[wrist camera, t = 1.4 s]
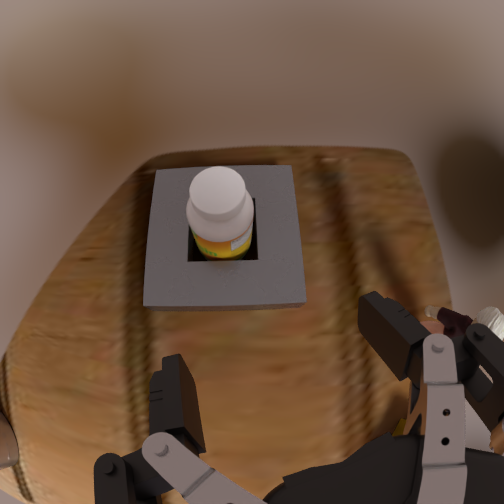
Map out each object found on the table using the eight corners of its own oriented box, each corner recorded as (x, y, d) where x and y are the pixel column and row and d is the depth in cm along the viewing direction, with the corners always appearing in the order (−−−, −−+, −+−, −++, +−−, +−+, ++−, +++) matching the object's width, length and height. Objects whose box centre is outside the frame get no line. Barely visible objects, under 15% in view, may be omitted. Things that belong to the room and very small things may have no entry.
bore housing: (153, 310, 26) (143, 305, 23) (162, 185, 30) (156, 170, 28) (299, 307, 26) (306, 302, 24) (287, 181, 31) (291, 165, 28)
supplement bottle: (186, 241, 28) (163, 190, 19) (224, 207, 30) (218, 147, 21) (223, 277, 27) (215, 239, 18) (262, 240, 29) (271, 188, 20)
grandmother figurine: (384, 342, 25) (469, 327, 14) (399, 309, 27) (481, 278, 15) (433, 371, 24) (518, 368, 12) (445, 340, 25) (528, 324, 13)
